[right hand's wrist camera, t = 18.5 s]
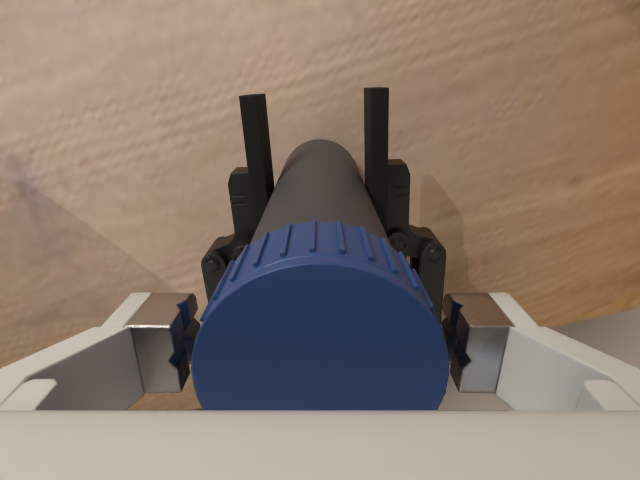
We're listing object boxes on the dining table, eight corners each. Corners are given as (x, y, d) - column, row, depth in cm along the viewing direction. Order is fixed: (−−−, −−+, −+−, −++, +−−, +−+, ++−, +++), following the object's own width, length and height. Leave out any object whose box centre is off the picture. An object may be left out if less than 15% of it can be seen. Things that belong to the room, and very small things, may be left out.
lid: (358, 421, 12) (367, 501, 9) (185, 351, 11) (150, 422, 8) (466, 277, 10) (508, 333, 8) (269, 177, 9) (252, 208, 7)
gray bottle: (276, 202, 26) (195, 416, 9) (293, 130, 24) (232, 232, 8) (345, 220, 26) (388, 454, 10) (366, 151, 25) (464, 290, 8)
